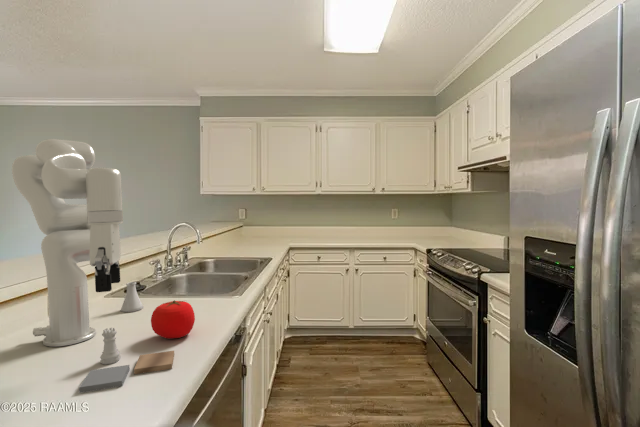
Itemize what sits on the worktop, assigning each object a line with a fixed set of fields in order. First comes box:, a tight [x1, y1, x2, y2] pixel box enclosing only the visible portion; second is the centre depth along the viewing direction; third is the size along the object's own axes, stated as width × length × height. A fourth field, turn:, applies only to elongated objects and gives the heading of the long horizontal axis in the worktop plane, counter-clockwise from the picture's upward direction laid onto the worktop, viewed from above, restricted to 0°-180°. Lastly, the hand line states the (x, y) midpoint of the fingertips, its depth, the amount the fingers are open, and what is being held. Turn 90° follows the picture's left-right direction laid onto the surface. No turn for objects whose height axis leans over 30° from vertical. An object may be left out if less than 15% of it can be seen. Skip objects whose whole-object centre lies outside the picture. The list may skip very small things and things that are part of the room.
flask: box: [120, 281, 144, 313], centre depth 132 cm, size 7×7×10 cm
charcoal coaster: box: [78, 364, 131, 394], centre depth 80 cm, size 8×8×1 cm
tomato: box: [150, 300, 196, 339], centre depth 105 cm, size 12×12×10 cm
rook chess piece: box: [99, 327, 121, 365], centre depth 89 cm, size 4×4×8 cm
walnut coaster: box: [133, 350, 175, 375], centre depth 87 cm, size 8×8×1 cm
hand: (108, 287), depth 89 cm, fingers open, 9 cm apart
